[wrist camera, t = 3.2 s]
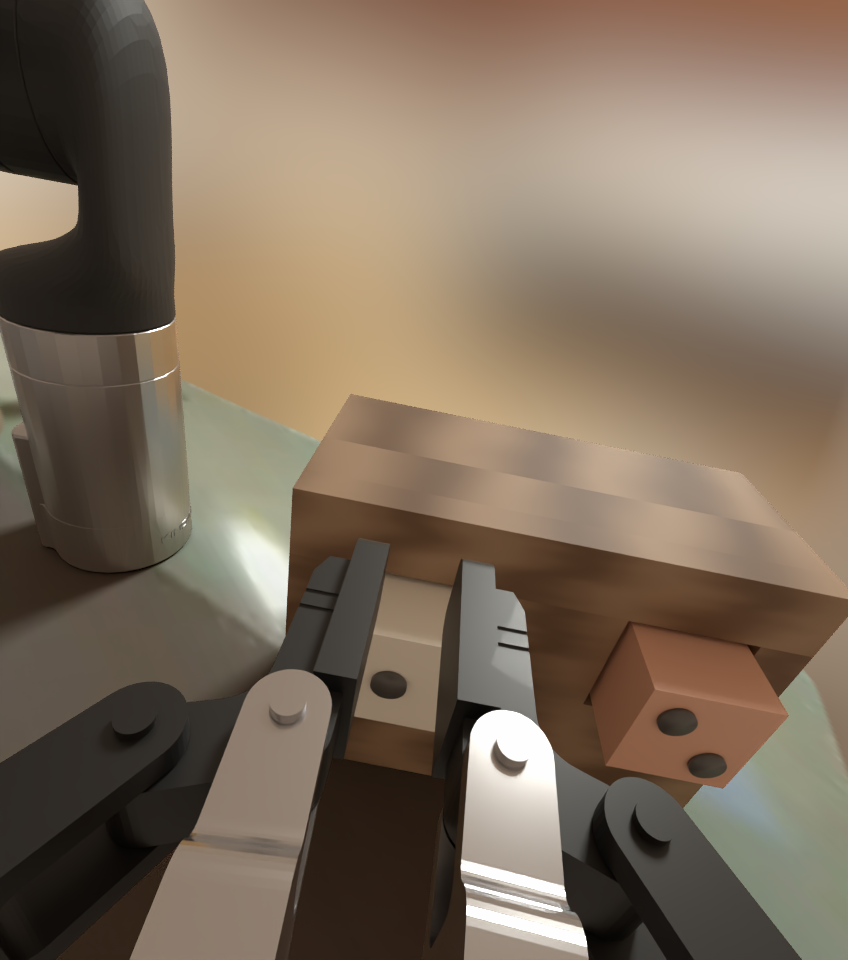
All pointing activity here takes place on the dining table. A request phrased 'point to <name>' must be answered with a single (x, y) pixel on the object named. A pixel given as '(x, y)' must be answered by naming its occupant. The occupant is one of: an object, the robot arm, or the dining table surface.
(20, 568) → the dining table surface
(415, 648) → the one dot button
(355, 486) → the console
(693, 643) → the two dot button
